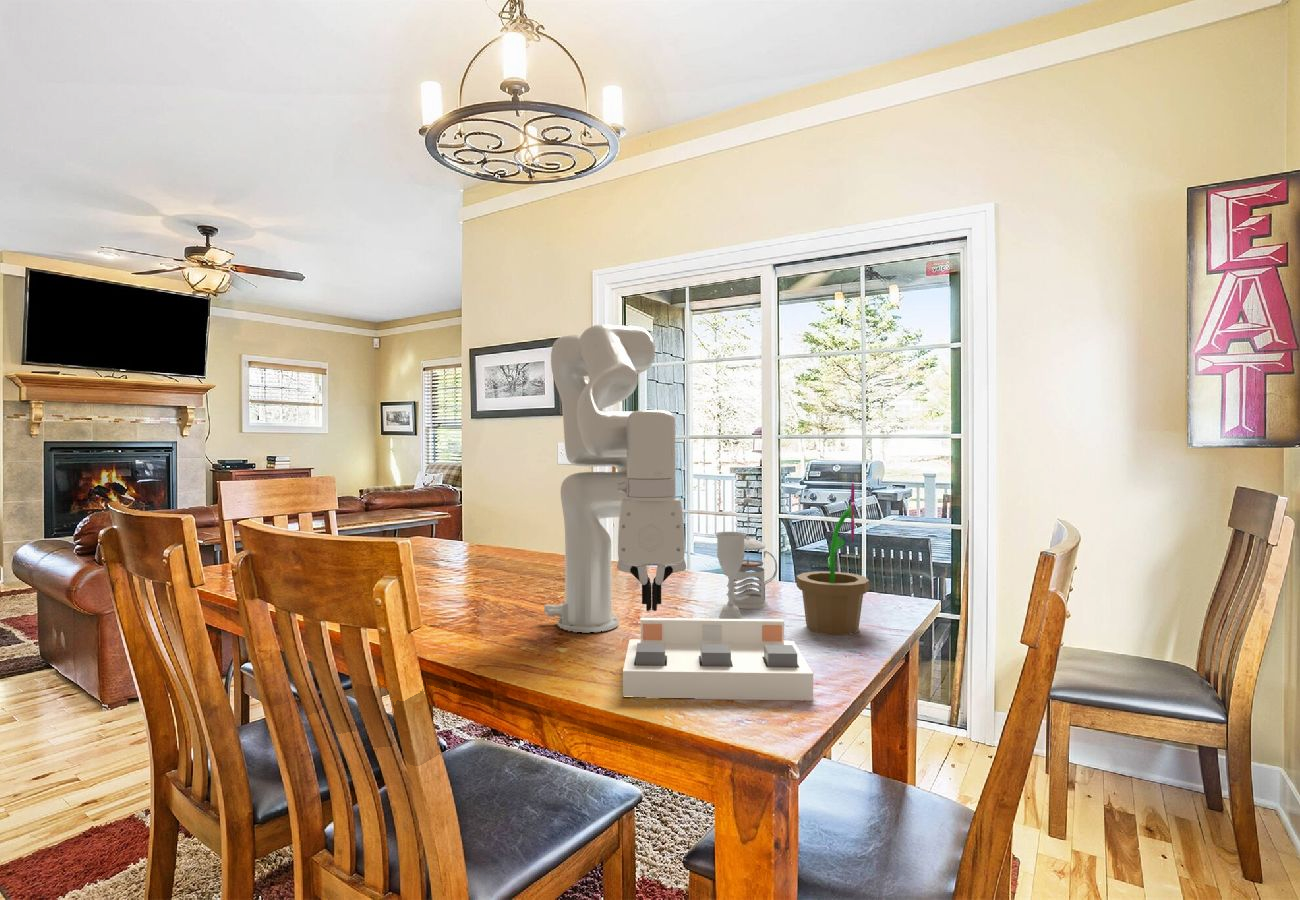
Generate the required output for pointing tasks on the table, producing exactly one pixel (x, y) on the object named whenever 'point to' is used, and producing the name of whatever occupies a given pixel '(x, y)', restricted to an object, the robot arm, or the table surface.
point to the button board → (704, 682)
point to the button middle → (715, 655)
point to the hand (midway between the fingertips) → (651, 608)
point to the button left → (650, 654)
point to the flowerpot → (834, 591)
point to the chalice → (730, 566)
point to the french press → (751, 596)
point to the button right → (780, 656)
